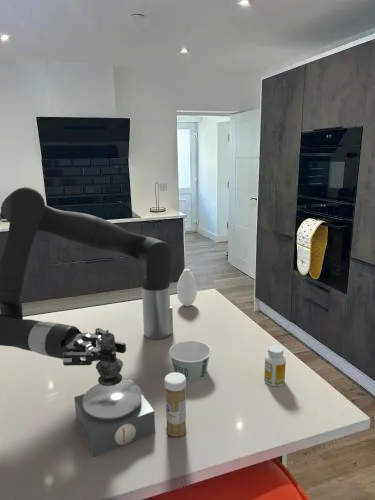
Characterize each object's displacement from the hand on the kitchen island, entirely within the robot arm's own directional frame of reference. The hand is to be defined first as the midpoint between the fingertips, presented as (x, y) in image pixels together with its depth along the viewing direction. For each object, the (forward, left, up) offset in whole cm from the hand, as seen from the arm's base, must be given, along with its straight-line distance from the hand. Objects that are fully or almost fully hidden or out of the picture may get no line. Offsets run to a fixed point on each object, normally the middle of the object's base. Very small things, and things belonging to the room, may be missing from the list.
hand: (120, 352), depth 81 cm
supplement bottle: (-41, +4, -19) cm, 46 cm away
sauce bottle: (-47, -54, -19) cm, 74 cm away
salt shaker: (+2, -2, -7) cm, 8 cm away
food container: (-24, -12, -19) cm, 33 cm away
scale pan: (+2, -2, -14) cm, 14 cm away
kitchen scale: (+2, -2, -19) cm, 19 cm away
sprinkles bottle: (-10, +7, -19) cm, 22 cm away
